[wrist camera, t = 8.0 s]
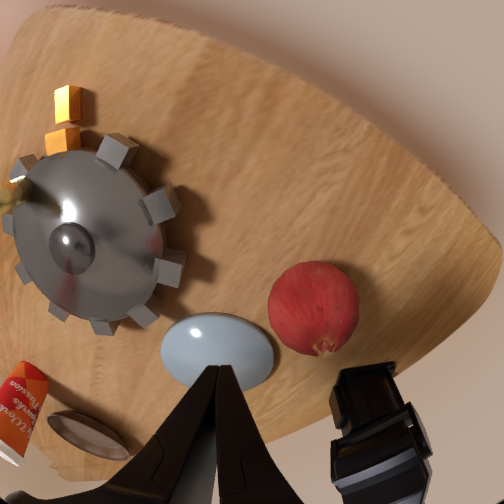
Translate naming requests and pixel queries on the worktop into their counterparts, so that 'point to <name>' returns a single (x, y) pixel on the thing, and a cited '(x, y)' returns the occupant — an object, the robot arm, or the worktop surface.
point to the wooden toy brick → (67, 104)
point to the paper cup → (20, 409)
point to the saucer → (88, 435)
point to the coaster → (217, 348)
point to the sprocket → (91, 231)
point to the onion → (313, 308)
